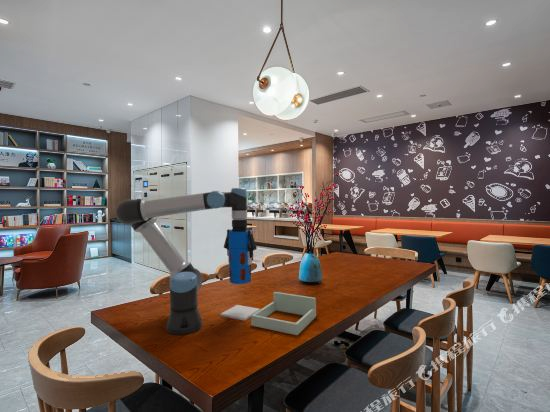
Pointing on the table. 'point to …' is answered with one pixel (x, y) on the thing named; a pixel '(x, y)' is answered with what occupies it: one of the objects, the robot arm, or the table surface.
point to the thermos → (239, 258)
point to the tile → (240, 312)
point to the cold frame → (289, 305)
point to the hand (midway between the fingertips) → (240, 263)
